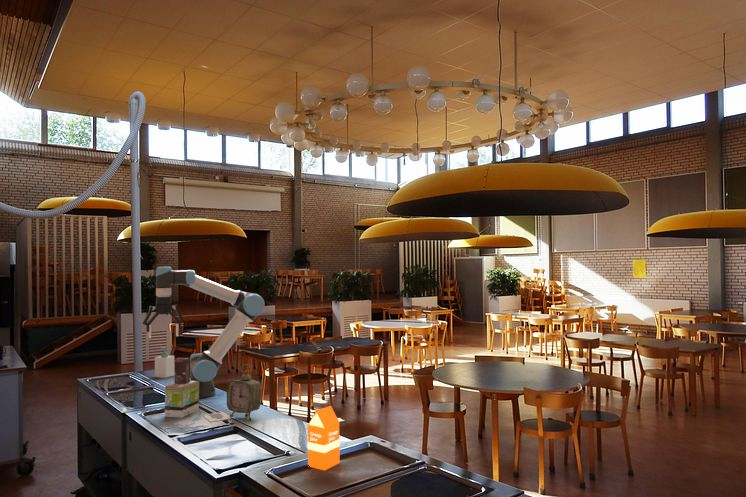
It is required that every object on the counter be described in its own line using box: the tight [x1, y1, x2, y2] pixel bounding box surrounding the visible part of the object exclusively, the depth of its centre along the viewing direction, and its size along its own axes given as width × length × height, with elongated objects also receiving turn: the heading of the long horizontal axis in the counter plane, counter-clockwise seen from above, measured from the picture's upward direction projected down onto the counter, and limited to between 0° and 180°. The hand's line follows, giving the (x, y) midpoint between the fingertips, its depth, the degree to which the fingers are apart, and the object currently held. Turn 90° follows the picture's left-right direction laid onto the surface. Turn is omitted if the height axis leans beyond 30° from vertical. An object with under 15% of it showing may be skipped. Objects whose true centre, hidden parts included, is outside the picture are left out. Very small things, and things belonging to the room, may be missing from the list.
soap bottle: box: [154, 346, 175, 379], centre depth 359 cm, size 9×9×19 cm
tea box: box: [164, 381, 200, 419], centre depth 268 cm, size 15×10×15 cm, turn 169°
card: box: [202, 411, 232, 423], centre depth 260 cm, size 10×13×1 cm
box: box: [174, 357, 191, 384], centre depth 268 cm, size 6×4×12 cm
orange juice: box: [307, 405, 341, 471], centre depth 197 cm, size 8×9×20 cm
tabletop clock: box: [226, 363, 263, 422], centre depth 258 cm, size 14×9×25 cm, turn 64°
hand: (163, 337), depth 286 cm, fingers open, 13 cm apart
